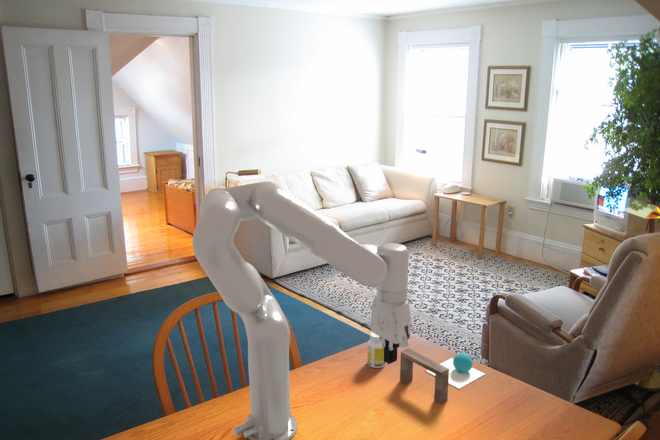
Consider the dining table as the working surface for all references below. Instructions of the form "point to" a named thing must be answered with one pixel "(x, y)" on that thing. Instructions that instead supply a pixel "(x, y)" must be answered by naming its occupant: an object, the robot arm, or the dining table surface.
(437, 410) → the dining table surface
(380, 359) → the supplement bottle
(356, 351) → the dining table surface
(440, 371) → the bridge
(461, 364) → the ball
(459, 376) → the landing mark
